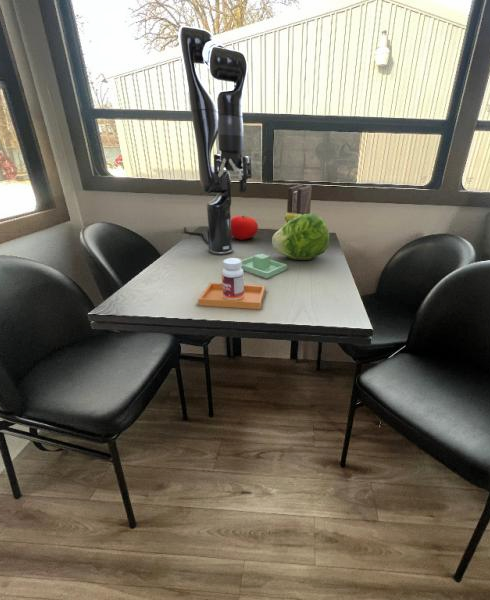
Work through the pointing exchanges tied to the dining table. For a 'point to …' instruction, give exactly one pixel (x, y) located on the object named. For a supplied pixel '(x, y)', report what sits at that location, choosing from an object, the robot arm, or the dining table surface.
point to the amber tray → (216, 298)
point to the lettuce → (302, 237)
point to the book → (298, 201)
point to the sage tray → (266, 273)
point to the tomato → (243, 227)
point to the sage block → (261, 261)
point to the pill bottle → (233, 279)
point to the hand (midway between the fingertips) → (233, 190)
